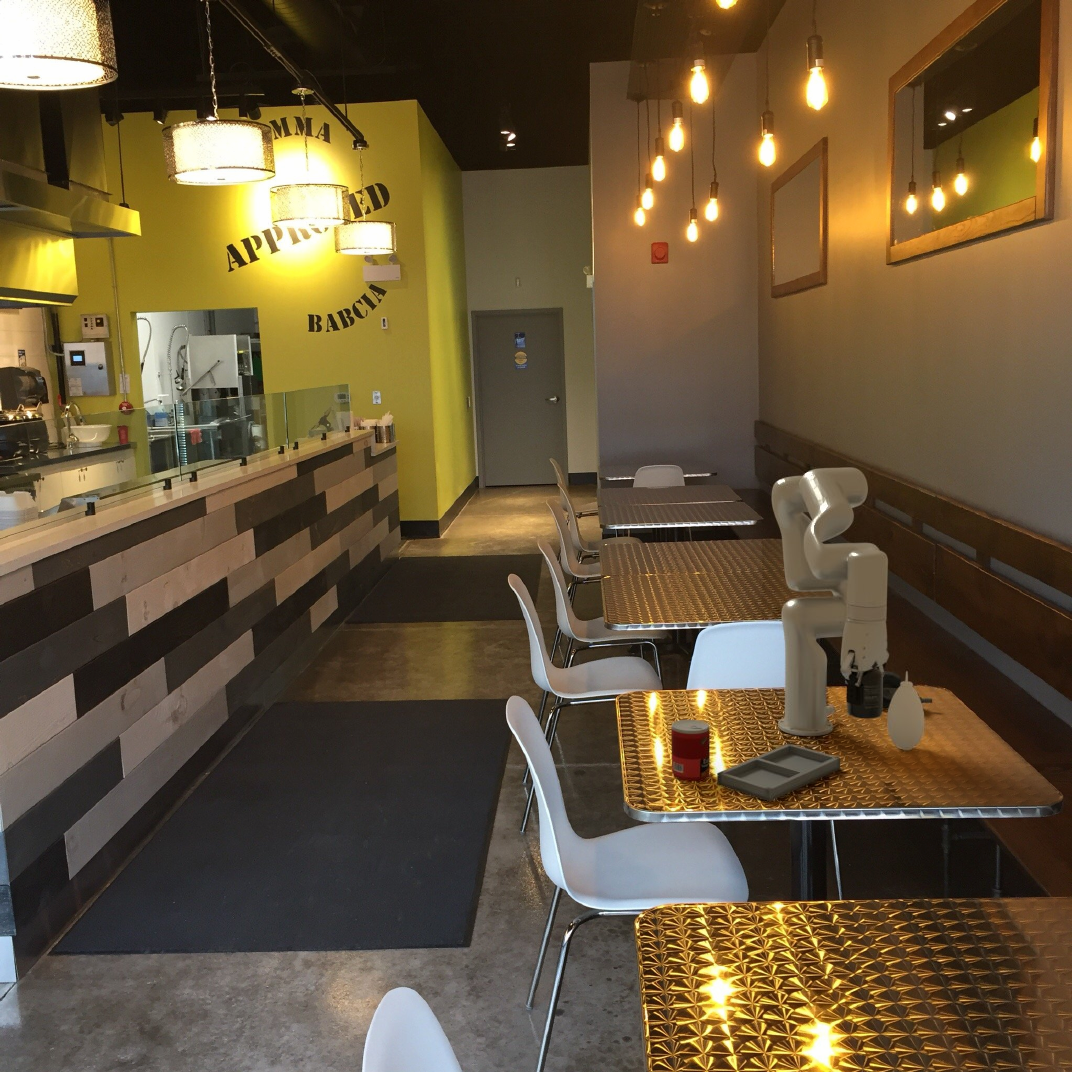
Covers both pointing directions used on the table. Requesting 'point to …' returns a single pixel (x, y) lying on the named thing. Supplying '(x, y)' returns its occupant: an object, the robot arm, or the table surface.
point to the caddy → (778, 772)
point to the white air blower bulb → (905, 717)
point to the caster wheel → (894, 688)
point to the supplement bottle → (869, 695)
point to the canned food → (690, 750)
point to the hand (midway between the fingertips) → (864, 698)
